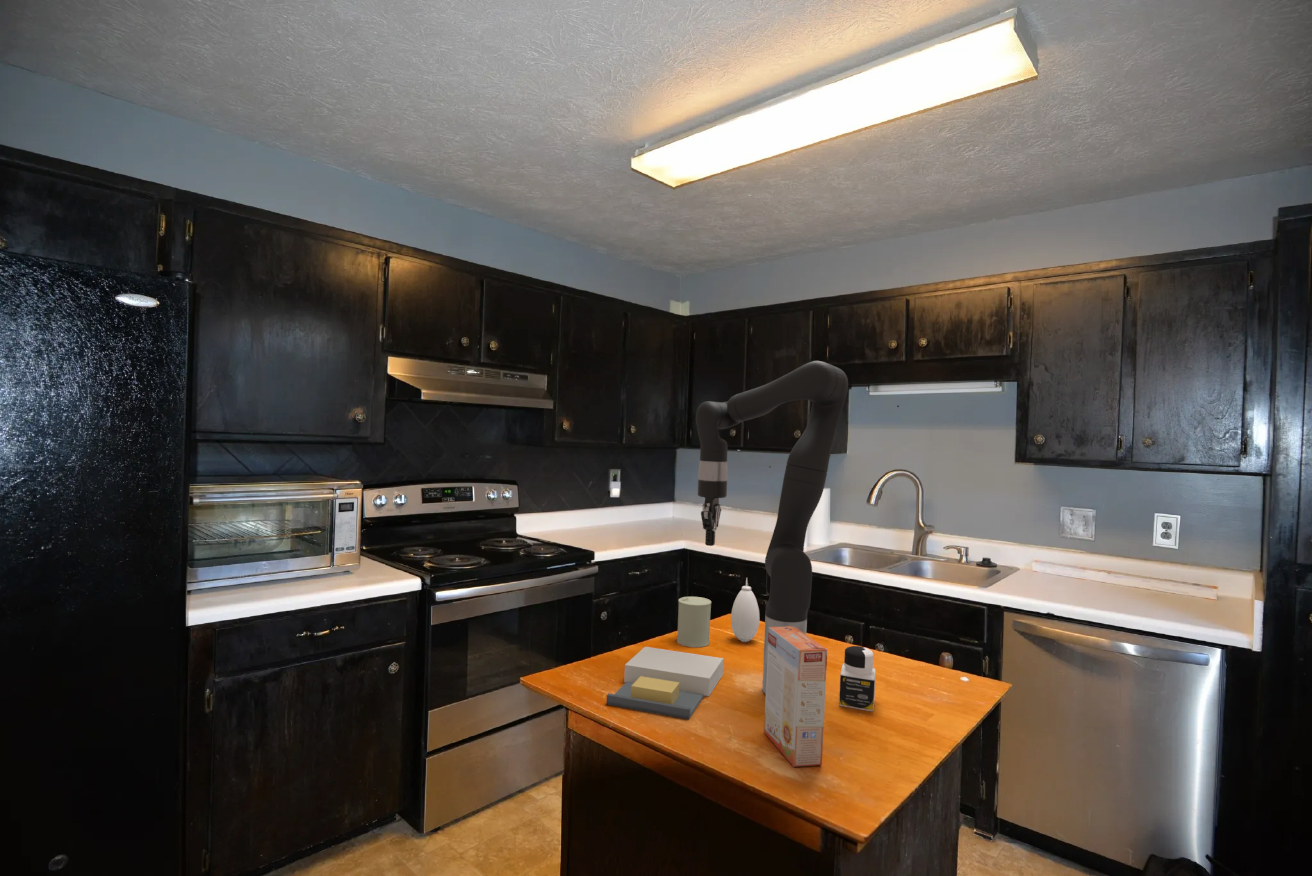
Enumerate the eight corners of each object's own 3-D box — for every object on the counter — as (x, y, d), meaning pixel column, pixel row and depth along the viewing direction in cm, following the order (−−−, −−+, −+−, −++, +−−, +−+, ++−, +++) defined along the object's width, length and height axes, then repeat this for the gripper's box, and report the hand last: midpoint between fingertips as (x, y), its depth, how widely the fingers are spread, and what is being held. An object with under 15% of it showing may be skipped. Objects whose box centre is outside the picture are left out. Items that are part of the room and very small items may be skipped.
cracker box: (824, 766, 115) (829, 648, 114) (792, 769, 113) (797, 649, 113) (791, 730, 128) (795, 624, 128) (762, 732, 127) (767, 625, 127)
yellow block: (671, 692, 136) (671, 707, 136) (679, 682, 141) (679, 696, 141) (631, 685, 138) (630, 699, 138) (640, 676, 144) (640, 689, 144)
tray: (703, 697, 143) (703, 688, 143) (688, 719, 131) (689, 709, 131) (626, 684, 148) (627, 675, 148) (606, 704, 137) (606, 695, 137)
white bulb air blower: (751, 647, 178) (754, 581, 178) (725, 641, 182) (728, 577, 182) (762, 640, 185) (765, 577, 184) (737, 635, 189) (739, 573, 188)
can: (678, 635, 186) (680, 593, 186) (710, 638, 185) (712, 596, 184) (674, 645, 177) (676, 601, 177) (708, 648, 175) (710, 604, 175)
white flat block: (722, 674, 157) (723, 658, 157) (708, 696, 143) (709, 678, 143) (644, 662, 163) (645, 646, 163) (624, 682, 150) (624, 664, 150)
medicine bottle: (838, 706, 141) (841, 651, 141) (841, 694, 148) (843, 641, 148) (873, 712, 138) (875, 656, 138) (874, 699, 145) (876, 646, 145)
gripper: (721, 481, 161) (718, 550, 162) (732, 478, 174) (729, 542, 174) (692, 479, 164) (689, 547, 164) (704, 476, 176) (702, 540, 176)
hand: (710, 545), depth 169 cm, fingers closed
